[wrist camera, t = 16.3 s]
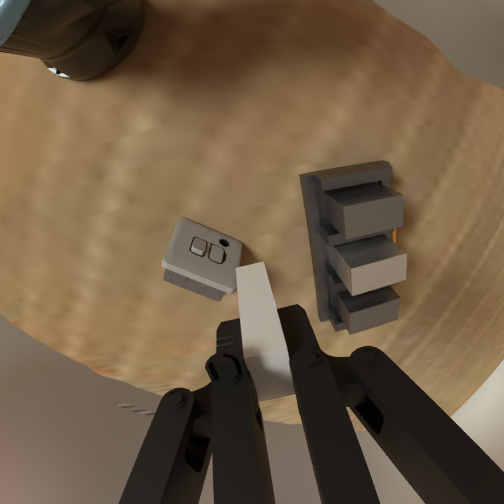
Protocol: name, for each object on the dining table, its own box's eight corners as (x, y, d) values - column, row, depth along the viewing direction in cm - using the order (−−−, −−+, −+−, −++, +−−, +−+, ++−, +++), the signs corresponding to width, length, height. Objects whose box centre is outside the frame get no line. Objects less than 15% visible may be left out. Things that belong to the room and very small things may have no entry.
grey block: (327, 239, 41) (351, 268, 33) (376, 227, 41) (407, 253, 33) (330, 263, 43) (352, 296, 35) (376, 251, 43) (405, 279, 35)
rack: (299, 174, 38) (319, 189, 30) (386, 159, 38) (421, 171, 30) (318, 316, 48) (334, 351, 40) (389, 295, 48) (412, 325, 40)
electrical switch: (243, 241, 41) (244, 279, 33) (227, 269, 43) (225, 311, 35) (181, 214, 39) (166, 248, 31) (168, 245, 41) (153, 283, 33)
